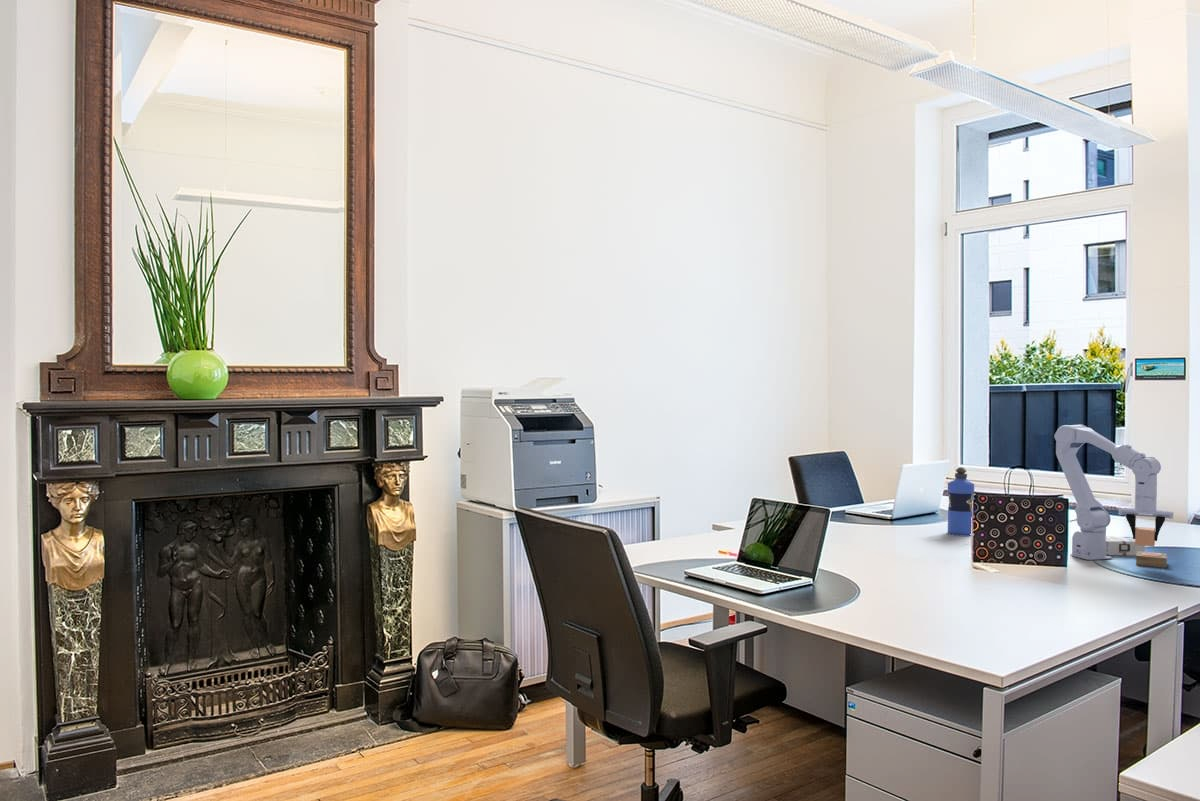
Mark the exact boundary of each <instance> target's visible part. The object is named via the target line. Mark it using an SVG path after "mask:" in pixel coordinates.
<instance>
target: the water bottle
mask: <svg viewBox="0 0 1200 801" xmlns="http://www.w3.org/2000/svg"><path fill="white" fill-rule="evenodd" d="M967 477H968V474H967V470H966V468H965V467H957V469H955V473H954V479H953V480H951V481H949V482H947V494H948V509H947V534H948V533H950V534H949V535H952V534H954V536H960V535H969V536H971V535H970V534H971V517H972V504H973V502H972V501H974V495H975V494H974V493H975V483H973V482H971V481H969V480H968V479H967ZM969 536H968V537H969Z"/></svg>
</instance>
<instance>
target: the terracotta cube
mask: <svg viewBox="0 0 1200 801" xmlns="http://www.w3.org/2000/svg"><path fill="white" fill-rule="evenodd" d="M1154 537H1155V528H1154V527H1144V526H1136V529H1135V545H1140V546H1145V547H1150V548H1151V547H1152V548H1153V547H1155V544H1156V543H1155V542H1156V541H1154Z"/></svg>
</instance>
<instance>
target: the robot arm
mask: <svg viewBox="0 0 1200 801" xmlns="http://www.w3.org/2000/svg"><path fill="white" fill-rule="evenodd" d="M1053 438H1054V440H1055V441H1056V442H1055V455H1056V458H1057V459H1058V462H1059V465H1060V468H1061V469H1062V472H1063V474H1064V476H1065V478H1066V481H1067V483H1068V485H1069V488H1070V490H1071V492H1072V495H1073V498H1074V500H1075V502H1076V507H1075V508H1074V512H1075V514H1076V524H1077V525H1078V527H1079V528H1080V530H1079V531H1075V532H1073V534H1072V537H1071V538H1072V539H1071V540H1072V541H1071V544H1072V545H1071V553H1070V554H1069V555H1070V556H1072V557H1075V558H1078V559H1081V560H1082V559H1083V560H1087V561H1093V560H1094V561H1095V560H1096V561H1097V560H1110V559H1113V557H1112V556H1110V555H1107V554H1106V537H1107V527H1108V526H1109V525H1110V523H1111V516H1110V513H1109V512H1108V511H1107V510H1105V508H1104V506H1103V504H1102V503H1100V502H1099V501H1098V500H1097V499H1096V498H1095V496H1094V493H1093V491H1092V489H1091V487H1090V485H1089V484H1090V483H1089V482H1088V480H1087V477H1086V475H1085V473H1084V471H1083V469H1082V467H1081V464H1080V462H1079V459H1078V457H1077V453H1078V451H1079V449H1080V448H1081V447H1082V446H1083V445H1085V444H1086V443H1087V444H1091V445H1092V446H1094V447H1097V448H1099V449H1101V450H1103V451H1105V452H1106V453H1109V454H1111V457H1112V459H1113V461H1115V462H1117V463H1119V464H1121V465H1122V466H1124V467H1125V468H1128V469H1129V470H1131V471H1132V473H1133V474H1134V476H1135V477H1134V480H1135V482H1134V483H1135V486H1134V488H1135V489H1134V490H1135V492H1134V495H1135V496H1134V508H1128V507H1127V508H1125V507H1124V508H1123V507H1119V508H1118V512H1117V513H1118V514H1117V515H1119V516H1125V519H1126V521H1127V523H1128V525H1129V527H1130V530H1131V532H1132V533H1131V534H1132V538H1133V539H1135V529H1136V527H1137V525H1136V523H1137V522H1136V521H1137V517H1146V518H1147V517H1148V518H1155V521H1154V522H1155V525H1154V526H1155V537H1154V541H1155V542H1157V541H1158V537H1159V533H1160V531H1161V528H1162V527H1163V525H1164V523H1165V521H1166V519H1170V520H1172V519H1174V511H1169V510H1168V511H1166V510H1159V509H1157V496H1158V495H1157V494H1158V474H1159V473H1160V472H1161V470H1162V469H1161V468H1162V466H1161V463H1160V461H1159V459H1157V458H1155V457H1153V456H1146V453H1144V452H1139V451H1137V450H1136V449H1133V448H1132V447H1133V446H1132V445H1130V444H1120V445H1118V444H1116V443H1114V442H1113V441H1111V440H1109V439H1108V438H1107V437H1105V436H1103V435H1101V434H1100V433H1098V432H1096V431H1095V430H1093V428H1091V427H1087V426H1086V425H1084V424H1080V423H1079V424H1072V425H1071V424H1070V425H1068V424H1065V425H1060V426H1059V427H1058V428H1057V430H1056V432H1055V433H1054V436H1053Z"/></svg>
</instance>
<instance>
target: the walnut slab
mask: <svg viewBox="0 0 1200 801" xmlns="http://www.w3.org/2000/svg"><path fill="white" fill-rule="evenodd" d="M1135 556H1136V558H1135V559H1136V562H1135V564H1136V566H1143V567H1152V566H1153V568H1154V567H1155V568H1164V569H1165V568H1167V566H1168V565H1167V564H1168V563H1167V561H1168V558H1167V553H1161V552H1149V551H1144V552H1140V551H1137V555H1135Z"/></svg>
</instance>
